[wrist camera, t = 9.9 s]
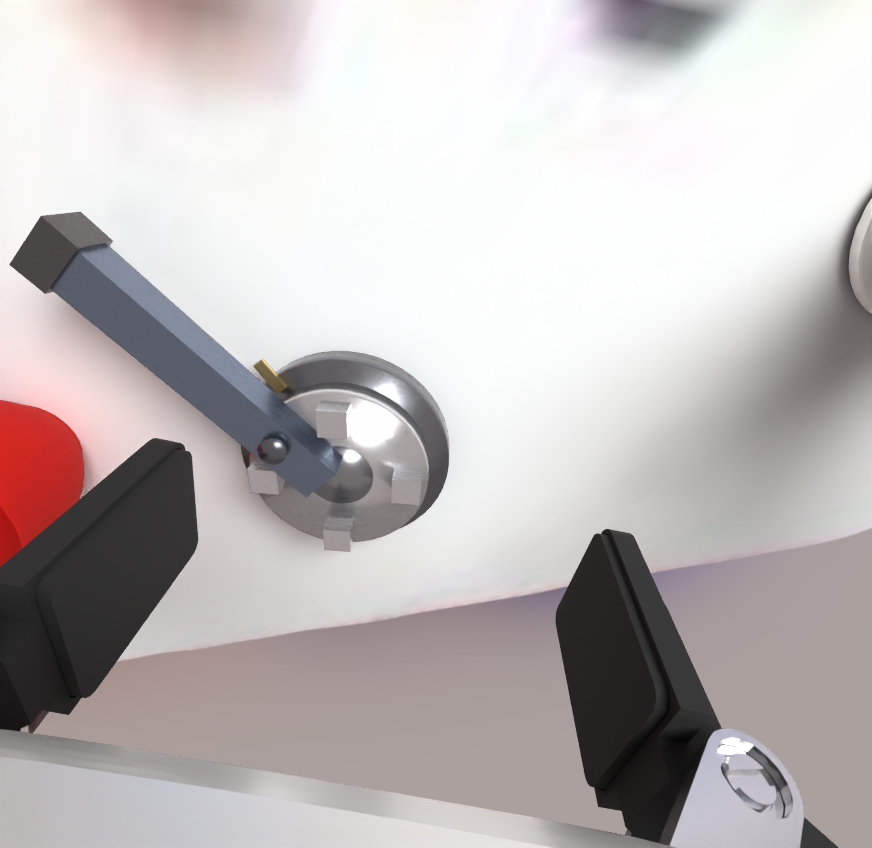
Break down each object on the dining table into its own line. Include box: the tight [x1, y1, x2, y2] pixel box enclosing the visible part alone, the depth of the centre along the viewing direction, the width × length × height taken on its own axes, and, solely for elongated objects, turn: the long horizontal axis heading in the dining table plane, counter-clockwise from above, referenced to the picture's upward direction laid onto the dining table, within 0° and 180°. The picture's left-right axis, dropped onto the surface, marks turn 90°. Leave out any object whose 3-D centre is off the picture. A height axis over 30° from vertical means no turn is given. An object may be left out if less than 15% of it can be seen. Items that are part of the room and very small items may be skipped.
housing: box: [241, 351, 449, 528], centre depth 36 cm, size 16×16×2 cm
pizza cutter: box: [9, 212, 429, 552], centre depth 30 cm, size 13×28×5 cm, turn 41°
